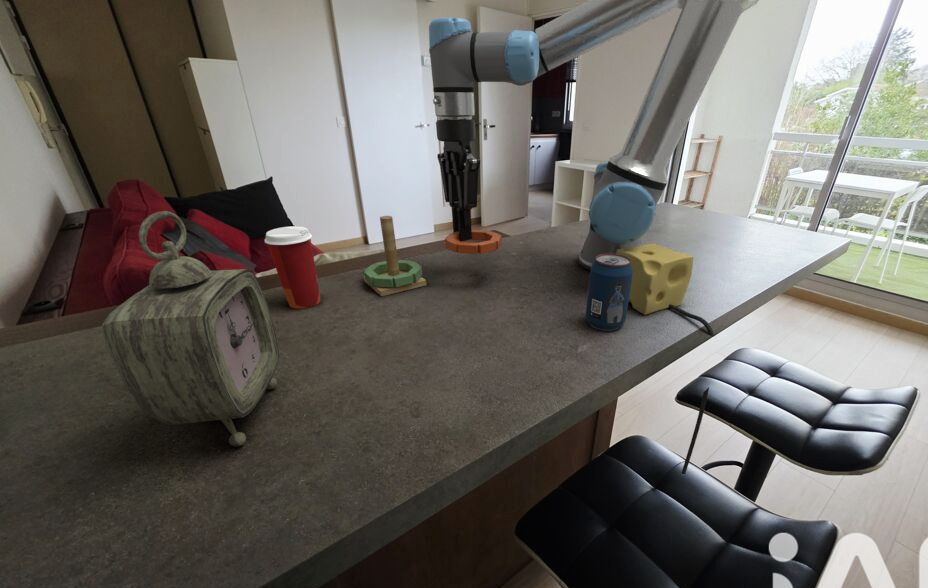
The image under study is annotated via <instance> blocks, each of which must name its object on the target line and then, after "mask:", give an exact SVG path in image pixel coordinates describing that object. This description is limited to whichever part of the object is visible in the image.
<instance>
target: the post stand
mask: <svg viewBox="0 0 928 588" xmlns="http://www.w3.org/2000/svg"><path fill="white" fill-rule="evenodd" d="M379 221H380V229H381V235H382V242H383V249H384V256H385V261H386V264H387V272H382V273H380V274H378V275H386V276H395V275H400V274H404V273H408V272H409V271H404V270H399V265H398V260H399V257H398V251H397V242H396V235H395V227H394V221H393V216H392V215H382V216H379ZM363 281H364V282H365V284H367V285H368V286H369V287H370V288H371V289H372V290H373V291H374V292H375V293H377V294H378V295H379V296H380V297H384V296H389V295H392V294H397V293H401V292H404V291H410V290H413V289H417V288H421V287H425V286H427V279H425V278H423V277H422V276H421V277H420V278H419V279H418V280H417V281H416V282H414V283H411V284H407V285H403V286H399V287H395V286H393V287H378V286H374V285H371V284H370V283H369V282H367V281H366V280H365V275H363Z"/></svg>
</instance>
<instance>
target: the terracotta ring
mask: <svg viewBox="0 0 928 588" xmlns="http://www.w3.org/2000/svg"><path fill="white" fill-rule="evenodd" d="M466 241H468V240H465V241H460V239H459V232H453V231H452V232H451V233H449V234H448V235H447V236H446V237H445V238H444V244H445V248H446V249H447V250H449V251H450V252H453V253H455V254H456V253H457V254H463V255H464V254H465V255H478V254H480V255H482V254H486V253H491V252H496V251H497V250H499V249H500V248H501V246H502V235H501V234H500V233H497V232H494V231H491V230H488V229H472V239H470V240H469V241H480V242H466Z"/></svg>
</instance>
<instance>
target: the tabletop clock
mask: <svg viewBox="0 0 928 588" xmlns="http://www.w3.org/2000/svg"><path fill="white" fill-rule="evenodd" d="M163 219H170V220H173V221H174V222H175V223H176V224H177V225H178V227H179V231H180V236H179V239H178V241H177V242H176V243H175V242H173V241H171V240H165V241H163V242H162V244H161V248H162V250H163V251H162V252H154V251H151V249H150V248H149V246H148V243H147V238H148V237H147V236H148V232H149V229H150V228H151V226H152V225H153V224H154V223H156V222H158V221H160V220H163ZM138 242H139V245H140V248H141V249H142V252H144V253H145V255H147V256H148V257H150V258H151V259H154V260H160V261H158V262H156V263H155V265H154V266H153V268H152V269H151V271H150V274H149V278H148V279H149V281H148V282H149V284H148V285H147V286H145V287H144V288H142V289H141V290H139V291H138V292H136V293H134V294H133V295H132V296H130V297H129V298H128V299H126V300H125V301H123V303H121V304H119V305H118V306H117V307H115V308H114V309H113V310H112V311H111V312H110V313H109V314H108V315H107V316H106V318H105V319H104V321H103V323H102V326H101V329H102V333H103V339H104V342H105V345H106V348H107V351H108V352H109V355H110V357H111V359H112V361H113V363H114V365H115V367H116V369H117V371H118V373H119V375H120V378H121V380H122V382H124V385H125V386H126V388H127V389H128V391H129V393H130V395H131V396H132V397H133V399H134V402H135V403H136V404H137V406H138V407H139V408H140V409H141V410H142V411H143V412H144V414H146V415H147V416H149V417H150V418H153V419H154V420H156V421H158V422H160V423H163V424H165V425H166V426H171V425H182V424H183V425H184V424H191V423H192V424H193V423H203V422H211V421H214V422H215V421H221V422H222V423H223V425H224V426H225V427H226V430H228V432H229V433H230V434H231V435H230V436H229V438H228V443H229V445H230V446H232V447H236V448H239V447H241V446H243V445H245V443H246V441H247V435H246V434H245V433H244V432H241V431H237V429H236V426H235V424H234V422H233V419H242V418H245V417H246V416H248V415H249V414H250V413H251V412H252V411H253V410H254V408H255V407H256V406H257V404H258V403H259V401H260V400H261V398H262V397H263V395H264V394H265V392H266V391H267V390H274V389H275V388H276V387H277V386H278V380H277V378H275V377H274V375H275V373H276V370H277V367H278V364H279V361H280V351H279V349H280V348H279V344H278V339H277V334H276V330H275V325H274V322H273V319H272V315H271V311H270V308H269V305H268V303H267V299H266V297H265V294H264V291H263V289H262V286H261V283H260V281H259V279H258V277H257V275H256V273H255V272H254V270H253V269H252V268H242V269H241V268H239V269H220V270H211V269H210V268H209V267H208V266H207V265H206V264H205V263H204V262H202V261H200V260H199V259H197V258H194V257H191V256H184V255H181V256H180V254H179V253H180V252H181V251H182V250H183V249H184V247H185V245H186V243H187V229H186V226H185V224H184V222H183V220H182V219H181V218H180V217H179V216H178V215H177V214H175V212H171V211H168V210H163V211H156V212H154V213H152V214H150V215H148V216H147V217H146V218H144V219H143V221H142V222H141V224H140V226H139V230H138Z"/></svg>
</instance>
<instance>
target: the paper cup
mask: <svg viewBox="0 0 928 588" xmlns="http://www.w3.org/2000/svg"><path fill="white" fill-rule="evenodd" d="M312 238H313V235H312V234H311V233H310V230H309V228H307V227H305V226H298V225H297V226H295V225H294V226H282V227H277V228H273V229H270V230H268V231H266V233H265V238H264V243H265V244H267V247H268V250H269V252H270V254H271V258H272V261H273V264H274V267H275V270H276V273H277V276H278V278H279V282H280V284H281V286H282V290H283V292H284V296H285V298H286V301H287V303H288V306H289V307H290V308H292V309H297V310H298V309H308V308H312V307H314V306H317V305H318V304H319V303H320V302H321V295H320V288H319V281H318V275H317V269H316V268H317V267H316V263H315V256H314V250H313V244H312Z"/></svg>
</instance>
